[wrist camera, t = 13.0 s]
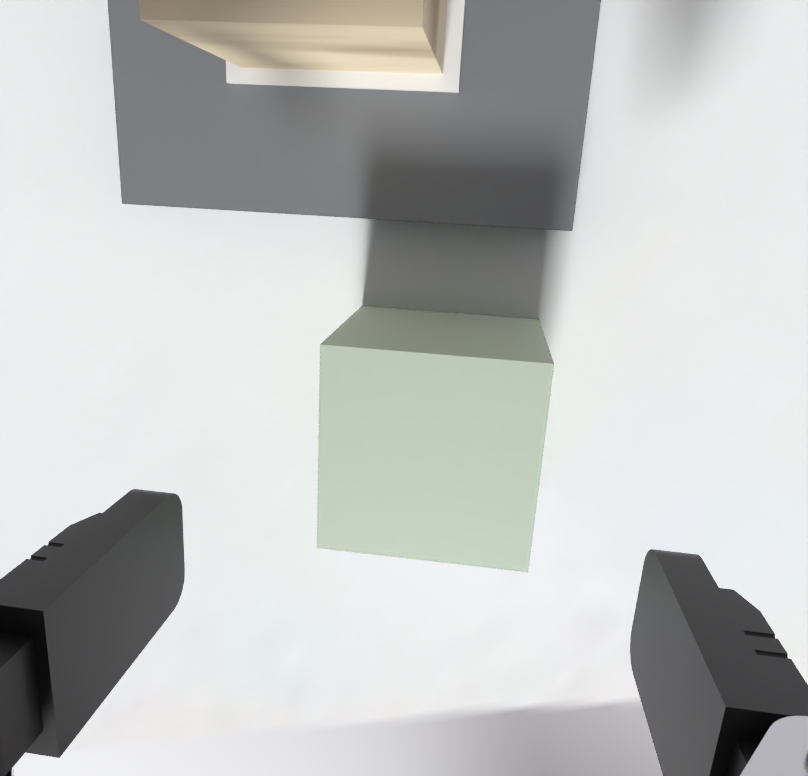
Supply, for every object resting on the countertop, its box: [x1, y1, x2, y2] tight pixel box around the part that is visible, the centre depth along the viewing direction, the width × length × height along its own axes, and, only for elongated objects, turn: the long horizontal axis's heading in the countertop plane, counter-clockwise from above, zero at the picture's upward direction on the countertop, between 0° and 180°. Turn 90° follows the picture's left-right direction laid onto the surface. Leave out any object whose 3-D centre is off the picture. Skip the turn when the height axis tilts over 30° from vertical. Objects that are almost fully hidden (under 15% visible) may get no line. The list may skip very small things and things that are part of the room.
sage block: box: [317, 306, 554, 572], centre depth 17 cm, size 5×5×5 cm
